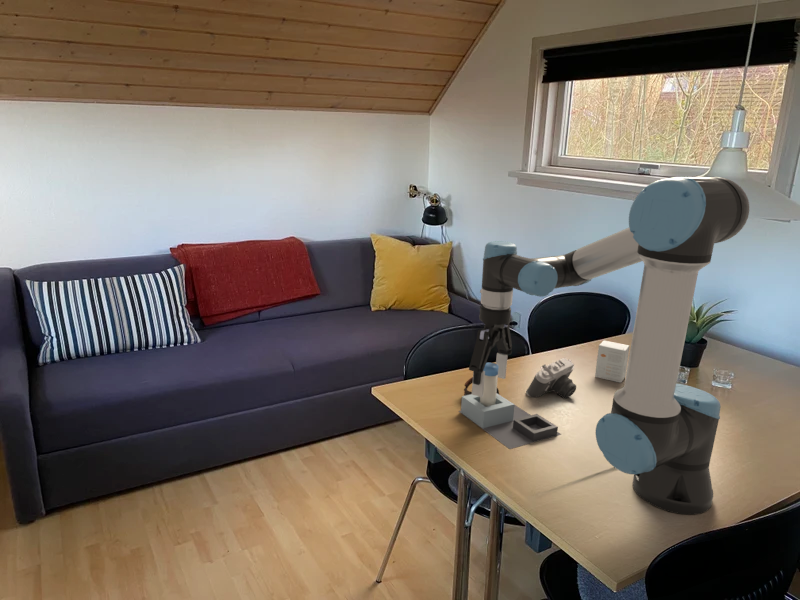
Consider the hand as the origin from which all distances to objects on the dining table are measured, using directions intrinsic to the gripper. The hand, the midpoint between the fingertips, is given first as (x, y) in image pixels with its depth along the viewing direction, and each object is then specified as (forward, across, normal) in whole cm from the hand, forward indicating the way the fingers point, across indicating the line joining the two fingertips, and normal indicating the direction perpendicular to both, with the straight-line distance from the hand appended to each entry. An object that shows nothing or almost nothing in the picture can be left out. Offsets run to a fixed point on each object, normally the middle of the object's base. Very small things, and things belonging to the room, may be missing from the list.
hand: (489, 386), depth 149 cm
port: (+8, 0, 0) cm, 8 cm away
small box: (+10, -48, +19) cm, 53 cm away
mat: (+9, 0, +6) cm, 11 cm away
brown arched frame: (+10, -10, -6) cm, 15 cm away
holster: (+8, 0, +13) cm, 15 cm away
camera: (+10, -25, +9) cm, 28 cm away
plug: (+8, 0, 0) cm, 8 cm away
